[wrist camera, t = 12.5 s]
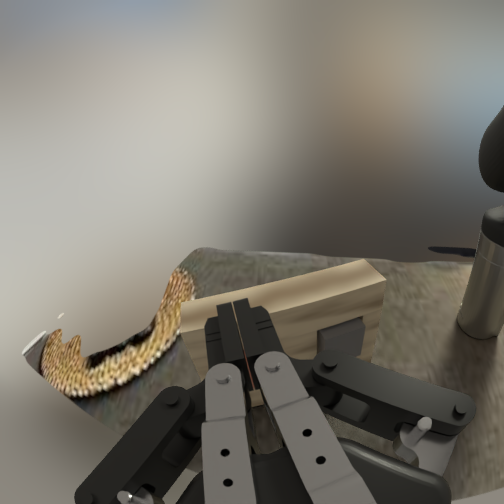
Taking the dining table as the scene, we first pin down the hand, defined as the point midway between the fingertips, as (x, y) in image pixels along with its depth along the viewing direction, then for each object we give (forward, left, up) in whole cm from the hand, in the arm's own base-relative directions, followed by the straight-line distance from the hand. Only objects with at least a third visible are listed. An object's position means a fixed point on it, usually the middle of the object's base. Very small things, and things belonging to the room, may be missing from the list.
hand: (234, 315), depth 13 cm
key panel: (+5, -13, -25) cm, 28 cm away
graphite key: (-1, -15, -18) cm, 24 cm away
